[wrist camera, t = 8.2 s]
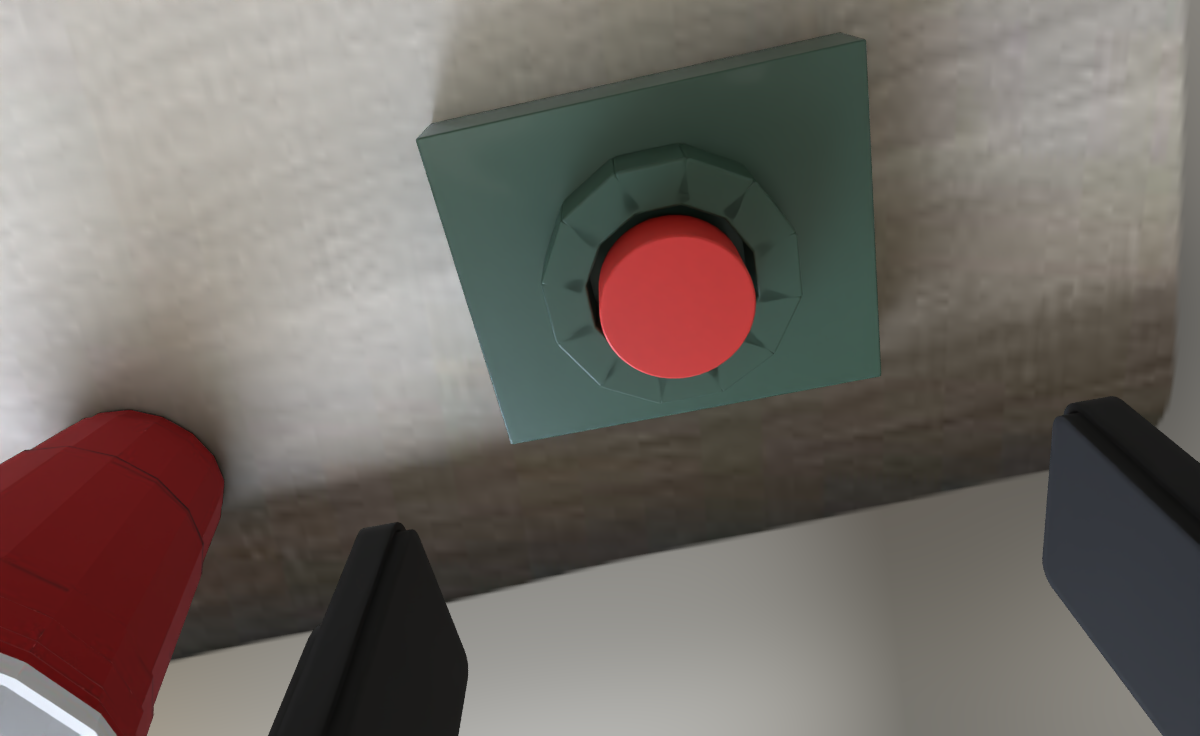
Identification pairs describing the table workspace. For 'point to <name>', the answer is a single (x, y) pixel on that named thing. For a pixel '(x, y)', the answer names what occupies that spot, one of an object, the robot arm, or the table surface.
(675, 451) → the table surface
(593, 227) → the box
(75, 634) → the plastic cup
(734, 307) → the release button
